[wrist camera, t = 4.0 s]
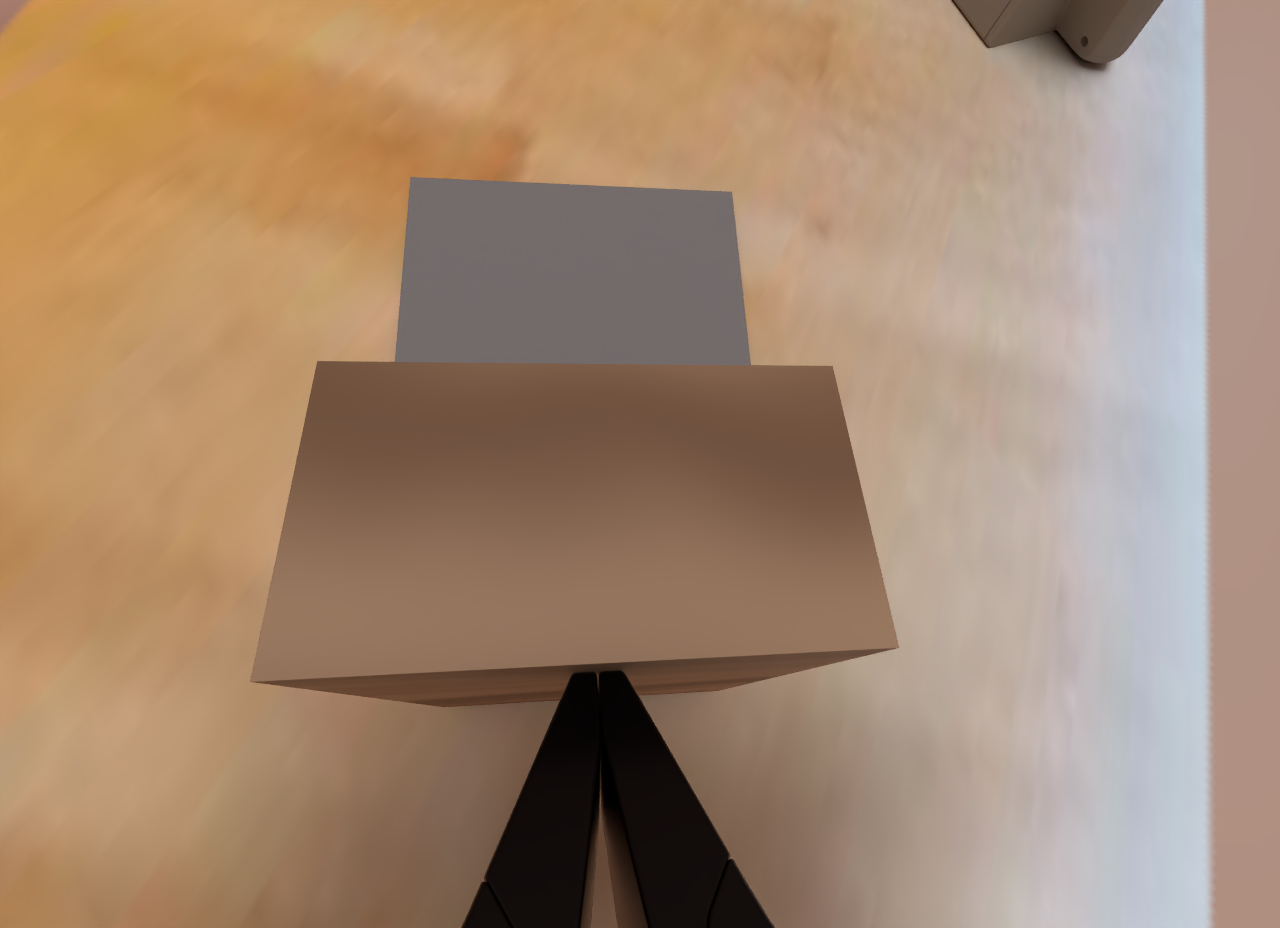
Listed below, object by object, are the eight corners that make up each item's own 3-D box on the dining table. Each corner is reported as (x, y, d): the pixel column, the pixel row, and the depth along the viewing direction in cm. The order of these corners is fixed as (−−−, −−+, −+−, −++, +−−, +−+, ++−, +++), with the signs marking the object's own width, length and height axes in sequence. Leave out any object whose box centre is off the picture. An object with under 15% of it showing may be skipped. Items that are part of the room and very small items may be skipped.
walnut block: (717, 690, 19) (899, 647, 8) (443, 707, 18) (250, 681, 7) (702, 547, 21) (832, 365, 10) (455, 555, 20) (317, 361, 9)
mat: (763, 519, 22) (776, 512, 20) (384, 529, 20) (370, 521, 19) (729, 198, 26) (738, 173, 25) (413, 184, 24) (403, 156, 23)
